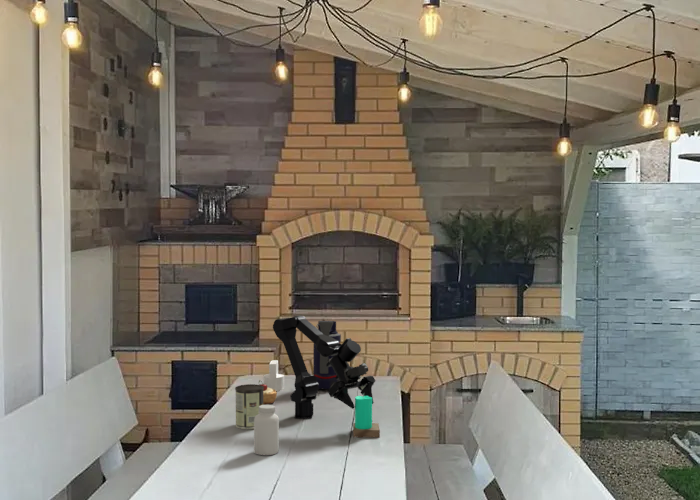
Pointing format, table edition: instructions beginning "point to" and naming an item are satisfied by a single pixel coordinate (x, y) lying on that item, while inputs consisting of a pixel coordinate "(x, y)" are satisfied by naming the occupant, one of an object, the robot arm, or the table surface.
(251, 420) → the coffee can
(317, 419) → the table surface
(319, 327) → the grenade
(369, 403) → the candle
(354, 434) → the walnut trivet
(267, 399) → the pastry
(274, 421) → the pill bottle
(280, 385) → the base with upright slab
